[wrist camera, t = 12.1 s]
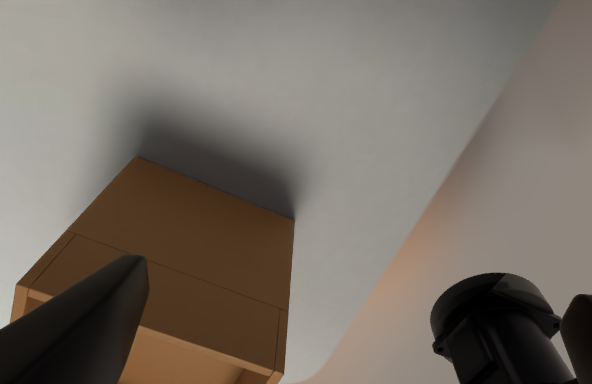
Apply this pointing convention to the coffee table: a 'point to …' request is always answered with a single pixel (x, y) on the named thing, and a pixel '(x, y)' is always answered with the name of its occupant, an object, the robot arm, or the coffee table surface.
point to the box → (183, 276)
